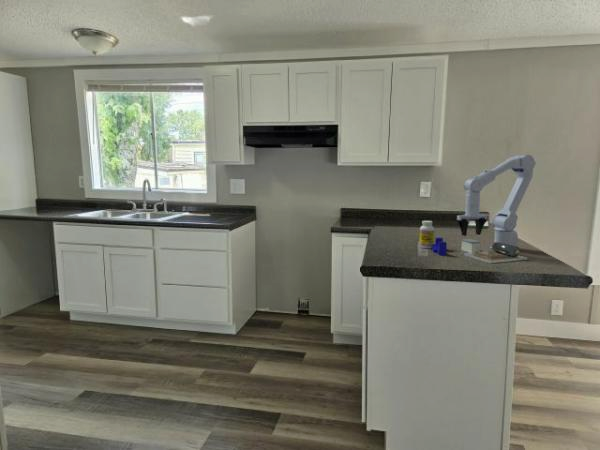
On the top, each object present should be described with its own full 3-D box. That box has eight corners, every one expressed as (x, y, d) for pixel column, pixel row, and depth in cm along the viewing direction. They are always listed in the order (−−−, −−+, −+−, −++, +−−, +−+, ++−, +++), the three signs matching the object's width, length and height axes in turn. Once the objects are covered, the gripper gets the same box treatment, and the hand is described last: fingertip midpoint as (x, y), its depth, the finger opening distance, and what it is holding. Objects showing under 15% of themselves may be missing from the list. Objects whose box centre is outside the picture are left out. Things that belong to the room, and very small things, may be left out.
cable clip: (431, 250, 187) (432, 237, 186) (441, 250, 186) (442, 237, 186) (435, 255, 176) (435, 242, 175) (446, 255, 175) (446, 242, 174)
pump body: (469, 249, 187) (470, 239, 187) (480, 252, 181) (480, 241, 180) (461, 250, 186) (461, 239, 185) (471, 253, 179) (472, 242, 179)
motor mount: (498, 252, 179) (498, 240, 178) (527, 259, 164) (527, 247, 163) (464, 255, 174) (464, 243, 174) (490, 263, 159) (491, 250, 158)
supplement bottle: (418, 248, 191) (419, 221, 189) (419, 245, 197) (420, 220, 196) (433, 249, 189) (434, 222, 187) (434, 246, 195) (434, 220, 193)
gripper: (479, 204, 186) (478, 232, 188) (453, 205, 182) (452, 234, 184) (490, 205, 180) (489, 235, 181) (463, 206, 176) (462, 236, 177)
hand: (471, 235), depth 182 cm, fingers open, 7 cm apart
